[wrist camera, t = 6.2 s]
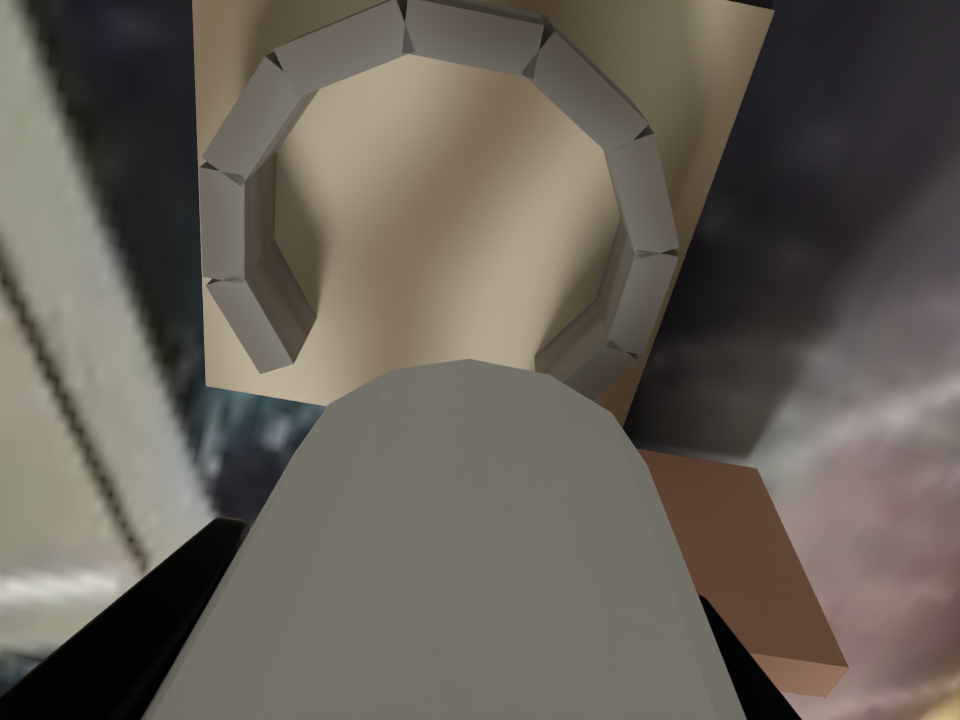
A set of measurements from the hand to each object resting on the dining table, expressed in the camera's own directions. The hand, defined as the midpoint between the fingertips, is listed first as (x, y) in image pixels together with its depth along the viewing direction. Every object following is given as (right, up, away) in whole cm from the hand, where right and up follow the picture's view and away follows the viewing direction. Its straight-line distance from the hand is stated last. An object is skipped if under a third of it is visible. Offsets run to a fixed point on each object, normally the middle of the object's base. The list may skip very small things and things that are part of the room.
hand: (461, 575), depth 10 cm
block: (+5, 0, +13) cm, 14 cm away
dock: (-1, +7, +9) cm, 11 cm away
